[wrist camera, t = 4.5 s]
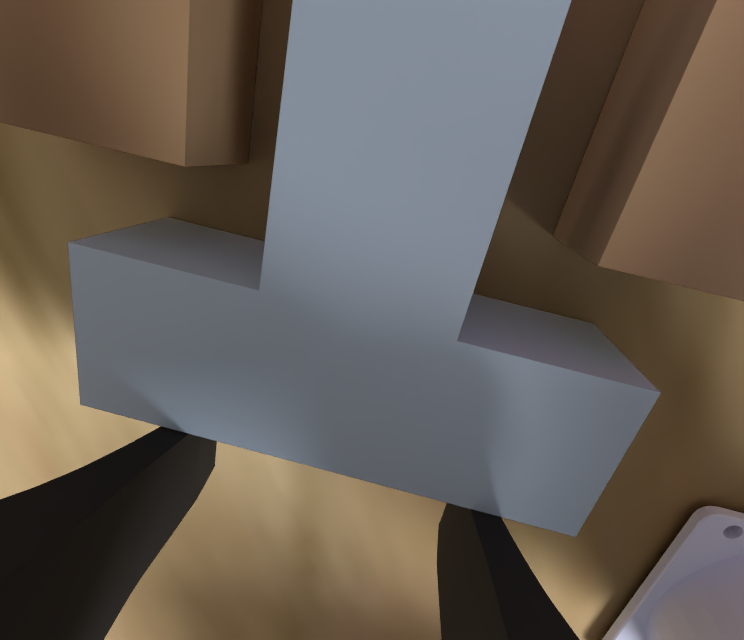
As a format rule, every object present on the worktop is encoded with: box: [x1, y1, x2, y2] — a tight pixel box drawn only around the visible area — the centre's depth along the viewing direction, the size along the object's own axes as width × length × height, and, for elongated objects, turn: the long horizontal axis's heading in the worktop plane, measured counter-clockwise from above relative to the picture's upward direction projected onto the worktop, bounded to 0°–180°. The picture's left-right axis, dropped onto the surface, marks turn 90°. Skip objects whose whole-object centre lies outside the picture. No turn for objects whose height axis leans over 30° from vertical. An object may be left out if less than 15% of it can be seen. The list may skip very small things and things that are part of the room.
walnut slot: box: [0, 0, 744, 301], centre depth 8 cm, size 18×6×3 cm, turn 78°
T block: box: [68, 0, 661, 537], centre depth 9 cm, size 12×12×4 cm
